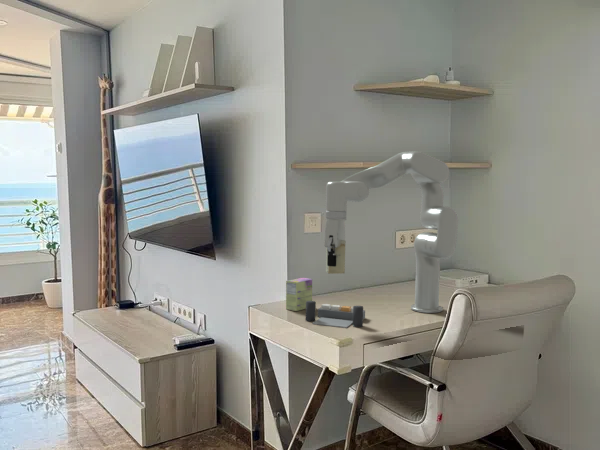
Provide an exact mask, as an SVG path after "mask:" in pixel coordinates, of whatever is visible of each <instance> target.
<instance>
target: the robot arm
mask: <svg viewBox="0 0 600 450" xmlns="http://www.w3.org/2000/svg"><path fill="white" fill-rule="evenodd" d="M408 174H410V175H411V177H412V179H413V180H414V182H415V183H417V185H418V187H419V189H420V191H421V204H420V206H421V207H420V214H419V216H420V217H419V218H420V219H419V223H420V224H421V226H422V228H425V229H429V230H434V231H435V230H436V231H437V232H429V231H427V232H426V231H424V232H420V233H419V234H417V235H416V237H414V238H415V239H414V242H413V248H414V254H415V282H414V287H415V288H414V303H413V304H411V305H410V309H411V310H412V311H414V312H418V313H424V314H437V313H442V312H443V306H441V305H440V303H439V301H440V275H441V265H440V261H439V259H443V260H444V259H445V260H447V259H450V258H451V257H453V255H454V253H455V252H456V251H455V250H456V246H457V238H458V227H459V218H458V213H457V212H456V210H455V209H454V208H453V207H450V206H445V205H444V190H443V187H442V185H441V184H442V183H444V182H446V181H447V180H448V178H449V177H450V168H449V166H448V165H447V163H446V162H444V161H443V160H441V159H438V158H436V157H435V156H432V155H430V154H427V153H425V152H423V151H419V150H416V151H415V150H413V151H412V150H411V151H402V152H399V153H396V154H395V155H393V156H391V157H390V158H387V159H386V160H384V161H382V162H380V163H379V164H377V165H375V166H371V167H369V168H366V169H364V170H361V171H359V172H356V173H354V174H351V175H350V176H348V177H345V178H344V179H343V180H341V181H328V182H326V185H325V220H326V222H325V229H324V242H323V243H324V247H325V248H326V247H327V251H328V252H327V255H328V257H327V265H328V266H333V267H335V266H336V255H335V254H336V249H337V248H338V247H340V244H341V241H342V240H345V241H346V225H345V224H346V223H345V221H347V208H348V207H347V206H348V204H347V202H352V203H353V202H355V203H360V202H364V201H365V200H367V198H368V197H369V195H370V190H371V189H378V188H382V187H386V186H389V185H390V184H393V183H394V182H396V181H398V180H399V179H401V178H402V177H404V176H405V175H406V176H407V175H408ZM331 245H332V246H331ZM334 246H335V247H334ZM333 249H334V251H333Z"/></svg>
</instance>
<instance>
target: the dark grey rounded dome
mask: <svg viewBox="0 0 600 450" xmlns="http://www.w3.org/2000/svg"><path fill="white" fill-rule="evenodd" d="M316 302H317V301H315V300H312V301H306V309H305V322H312V323H313V322H315V321H316V308H317V307H316V305H317V304H316Z"/></svg>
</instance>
